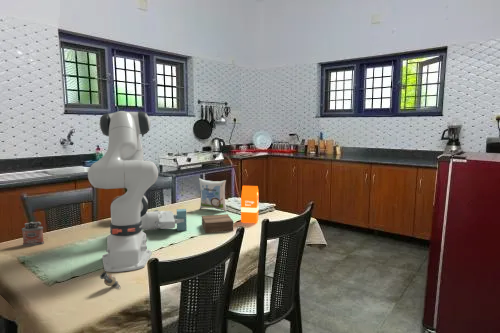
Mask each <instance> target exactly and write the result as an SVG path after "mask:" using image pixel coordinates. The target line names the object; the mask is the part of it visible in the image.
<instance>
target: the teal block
mask: <svg viewBox="0 0 500 333" xmlns="http://www.w3.org/2000/svg"><path fill="white" fill-rule="evenodd" d="M176 215H177V219H180V218H183V219H184V222H180V223H177V224H176V231H177V232H179V231H180V232H181V231H187V227H188V226H187V209H186V208H177V209H176Z"/></svg>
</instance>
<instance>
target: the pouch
mask: <svg viewBox="0 0 500 333" xmlns="http://www.w3.org/2000/svg"><path fill="white" fill-rule="evenodd" d="M198 181H199V188H200V206H199V209H200V210H201V209H205V208H207V209H208V208H209V209H216V210H221V211H224V212H226V211H228V210H227V207H226V195H225V194H226V182H227V180H226V179H225V180H221V181H218V180H217V181H213V180H208V179H207V180H206V179H202V178H200V177H199V178H198Z"/></svg>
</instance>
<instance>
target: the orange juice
mask: <svg viewBox="0 0 500 333" xmlns="http://www.w3.org/2000/svg"><path fill="white" fill-rule="evenodd" d="M259 195H260V193H259V186H258V185H242V189H241V196H240V223H244V224H247V223H248V224H257V223H258V221H259V201H260V200H259V197H260V196H259Z"/></svg>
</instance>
